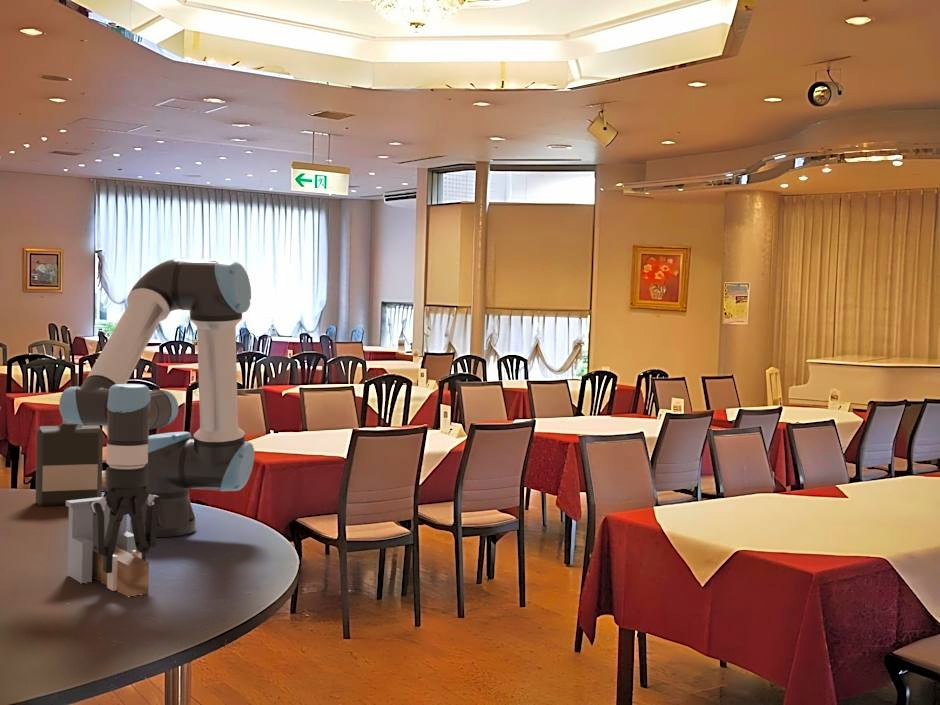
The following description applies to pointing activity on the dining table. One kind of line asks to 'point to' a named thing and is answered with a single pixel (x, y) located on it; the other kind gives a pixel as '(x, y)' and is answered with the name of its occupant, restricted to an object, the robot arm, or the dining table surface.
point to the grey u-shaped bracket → (89, 538)
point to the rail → (125, 572)
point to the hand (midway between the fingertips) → (123, 586)
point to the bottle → (68, 463)
